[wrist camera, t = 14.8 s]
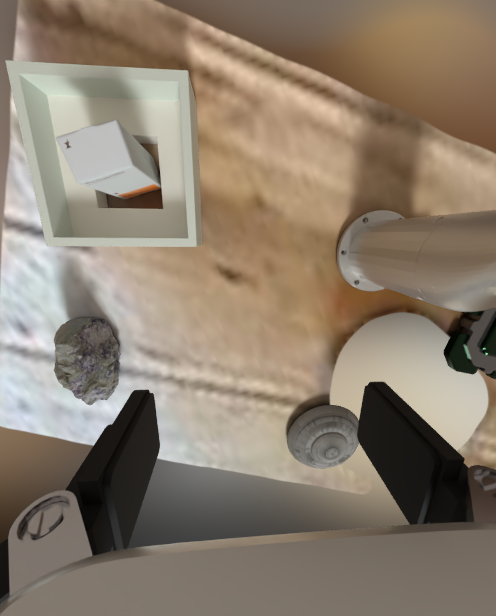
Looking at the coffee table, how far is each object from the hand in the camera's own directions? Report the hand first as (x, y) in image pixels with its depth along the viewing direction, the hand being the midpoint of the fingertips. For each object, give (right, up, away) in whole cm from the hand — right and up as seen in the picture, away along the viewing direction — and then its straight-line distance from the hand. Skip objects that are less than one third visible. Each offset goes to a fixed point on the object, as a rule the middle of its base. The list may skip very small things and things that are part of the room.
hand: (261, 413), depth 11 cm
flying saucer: (+15, -21, +40) cm, 47 cm away
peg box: (-16, +23, +24) cm, 37 cm away
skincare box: (-16, +23, +24) cm, 37 cm away
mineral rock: (-26, -3, +31) cm, 41 cm away
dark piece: (+46, +1, +35) cm, 58 cm away
